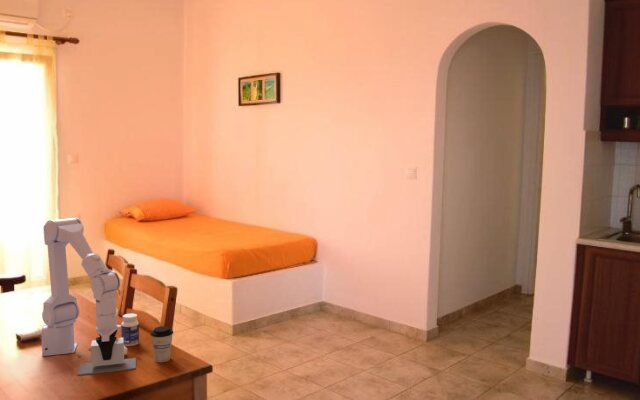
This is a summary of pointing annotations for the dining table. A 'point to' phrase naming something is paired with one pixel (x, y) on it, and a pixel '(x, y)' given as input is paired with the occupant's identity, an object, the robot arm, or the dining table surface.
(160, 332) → the coffee cup
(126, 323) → the pill bottle
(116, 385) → the dining table surface
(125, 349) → the cream marble
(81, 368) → the mat
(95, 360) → the cover
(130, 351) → the dining table surface
